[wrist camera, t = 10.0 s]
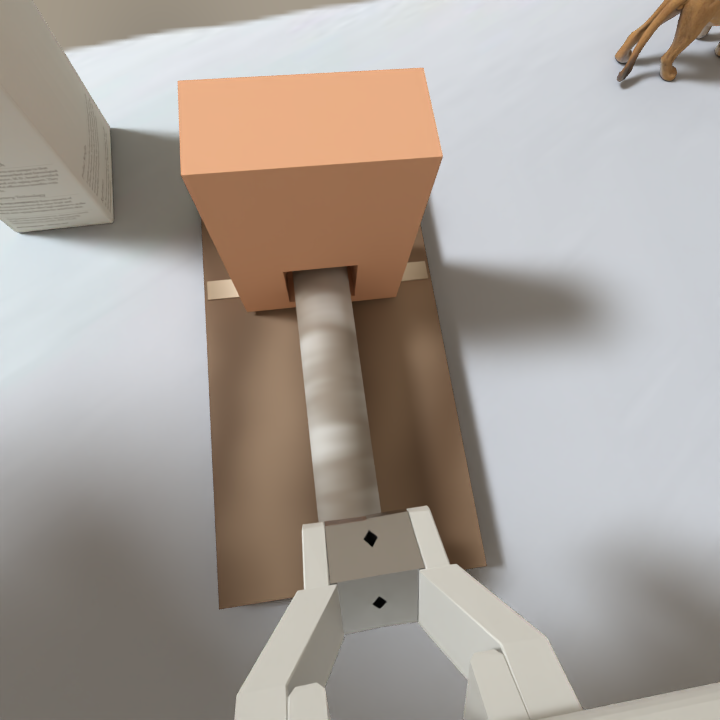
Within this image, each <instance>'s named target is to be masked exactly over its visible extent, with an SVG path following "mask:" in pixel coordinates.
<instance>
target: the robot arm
mask: <svg viewBox="0 0 720 720" xmlns="http://www.w3.org/2000/svg"><path fill="white" fill-rule="evenodd" d="M302 549H303V576H304V589H303V590H298V591H297V592H296V594H295V596H294V597H293V599H292V601H291V603H290V604H289V606H288V608H287V609H286V611H285V613H284V615H283V616H282V618H281V620H280V621H279V623H278V625H277V627H276V628H275V630H274V632H273V634H272V635H271V637H270V639H269V640H268V642H267V644H266V646H265V647H264V649H263V651H262V652H261V654H260V656H259V658H258V659H257V661H256V663H255V664H254V666H253V668H252V670H251V671H250V673H249V675H248V676H247V678H246V680H245V682H244V683H243V685H242V687H241V688H240V690H239V692H238V694H237V695H236V706H235V717H234V720H331V718H330V712H329V707H328V701H327V696H326V690H325V686H326V684H327V681H328V679H329V676H330V674H331V671H332V668H333V666H334V663H335V661H336V658H337V655H338V653H339V650H340V648H341V645H342V643H343V640H344V635H347V634H352V633H357V632H361V631H366V630H371V629H375V628H380V627H387V626H393V625H400V624H407V623H413V622H418V624H419V625H420V626H421V627H422V628H423V630H424V631H425V632H426V633H427V634H428V635H429V637H430V638H431V639H432V640H433V641H434V642H435V643H436V645H437V646H438V647H439V648H440V649H441V650H442V651H443V653H444V654H445V655H446V656H447V657H448V658H449V660H450V661H451V662H452V663H453V664H454V665H455V666H456V668H457V669H458V670H459V671H460V672H461V673H462V675H463V676H464V677H465V678H466V679H467V680H468V682H467V690H466V698H465V706H464V714H463V720H720V682H717V683H712V684H707V685H702V686H698V687H693V688H688V689H683V690H678V691H674V692H669V693H664V694H659V695H654V696H649V697H645V698H640V699H635V700H630V701H625V702H621V703H616V704H611V705H606V706H601V707H597V708H592V709H587V710H583V709H582V707H581V705H580V703H579V701H578V699H577V697H576V695H575V693H574V691H573V689H572V687H571V685H570V683H569V681H568V679H567V677H566V675H565V673H564V671H563V669H562V667H561V665H560V663H559V661H558V659H557V657H556V655H555V652H554V650H553V648H552V646H551V644H550V642H549V640H548V638H547V637H546V636H545V635H543V634H542V633H541V632H540V631H538V630H537V629H536V628H535V627H534V626H532V625H531V624H530V623H529V622H527V621H526V620H525V619H524V618H523V617H521V616H520V615H519V614H518V613H516V612H515V611H514V610H513V609H511V608H510V607H509V606H508V605H507V604H505V603H504V602H503V601H502V600H500V599H499V598H498V597H497V596H496V595H494V594H493V593H492V592H491V591H489V590H488V589H487V588H486V587H484V586H483V585H482V584H481V583H480V582H478V581H477V580H476V579H475V578H473V577H472V576H471V575H470V574H469V573H467V572H466V571H465V570H464V569H462V568H461V567H460V566H459V565H457V564H451V565H450V563H449V560H448V557H447V554H446V552H445V549H444V546H443V543H442V541H441V538H440V535H439V533H438V530H437V527H436V524H435V522H434V519H433V516H432V514H431V511H430V508H429V507H428V506H421V507H414V508H408V509H400V510H394V511H388V512H382V513H376V514H370V515H365V516H362V517H354V518H346V519H338V520H331V521H325V524H324V522H317V523H310V524H303V526H302Z"/></svg>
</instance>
